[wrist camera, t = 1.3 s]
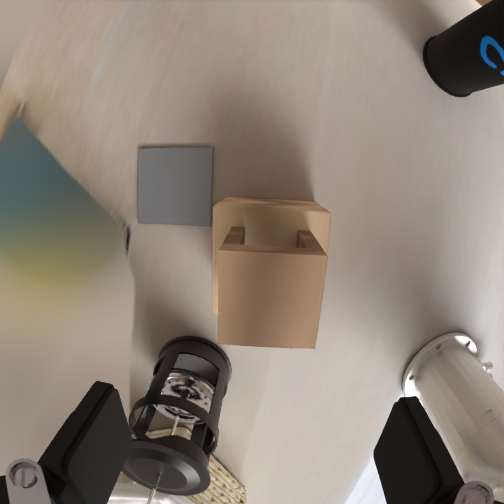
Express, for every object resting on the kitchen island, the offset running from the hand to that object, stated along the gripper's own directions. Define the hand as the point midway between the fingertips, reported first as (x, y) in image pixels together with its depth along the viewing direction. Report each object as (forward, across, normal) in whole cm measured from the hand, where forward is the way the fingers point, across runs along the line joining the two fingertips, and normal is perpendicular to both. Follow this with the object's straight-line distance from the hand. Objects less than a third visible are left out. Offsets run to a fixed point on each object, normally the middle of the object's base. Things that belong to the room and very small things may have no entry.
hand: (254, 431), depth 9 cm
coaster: (+24, +9, -6) cm, 27 cm away
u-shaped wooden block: (+16, 0, 0) cm, 16 cm away
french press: (+24, +8, +16) cm, 30 cm away
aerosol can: (+25, -22, -23) cm, 40 cm away
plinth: (+24, 0, 0) cm, 24 cm away
